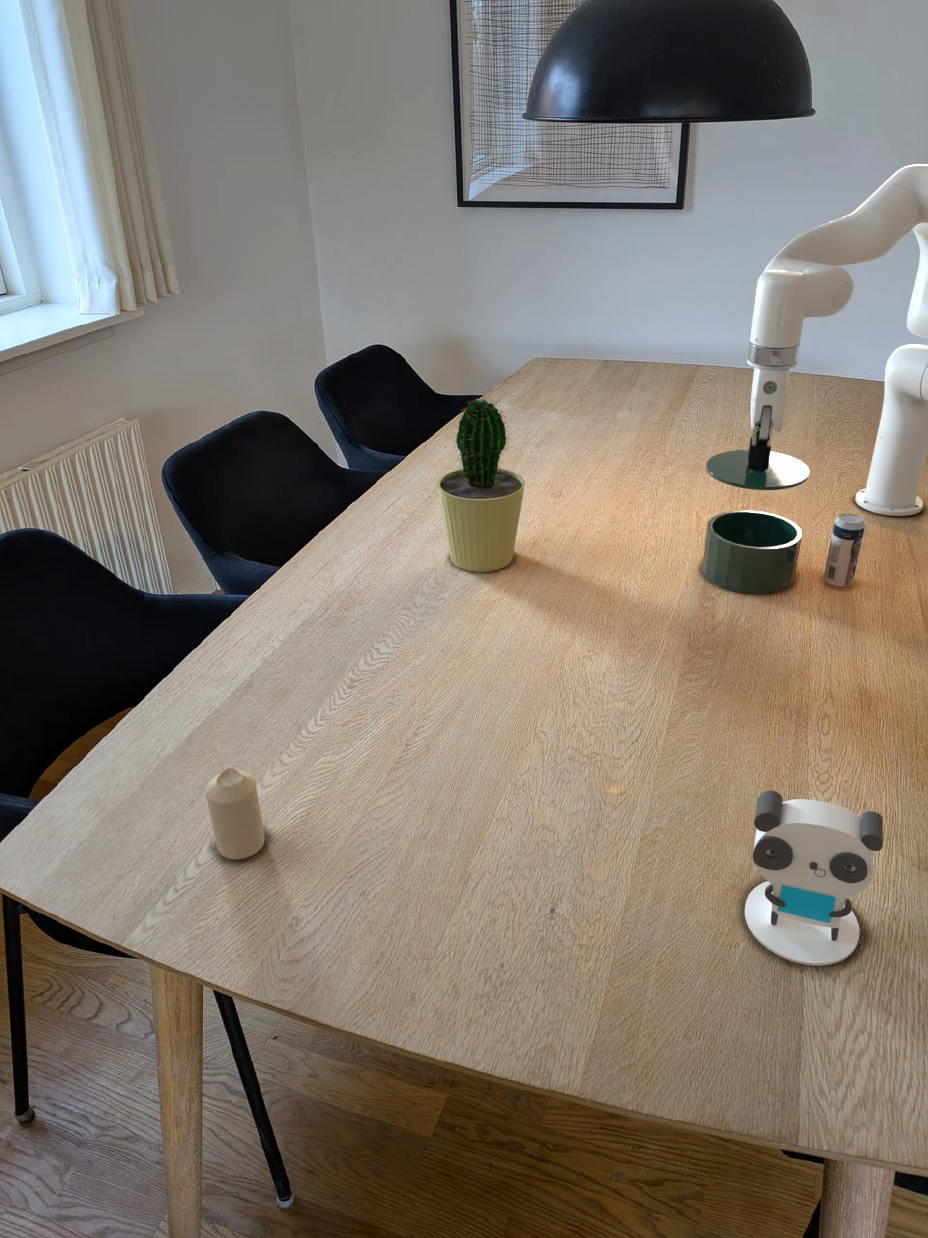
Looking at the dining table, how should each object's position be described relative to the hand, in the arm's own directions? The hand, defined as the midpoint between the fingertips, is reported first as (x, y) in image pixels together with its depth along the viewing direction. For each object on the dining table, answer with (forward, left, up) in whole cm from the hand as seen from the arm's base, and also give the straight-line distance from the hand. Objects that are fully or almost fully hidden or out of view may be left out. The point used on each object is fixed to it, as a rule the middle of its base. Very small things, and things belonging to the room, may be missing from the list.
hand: (757, 463), depth 156 cm
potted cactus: (+6, -46, -20) cm, 51 cm away
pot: (+1, +1, -20) cm, 20 cm away
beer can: (+1, +16, -20) cm, 26 cm away
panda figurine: (+80, +7, -20) cm, 83 cm away
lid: (0, 0, -1) cm, 1 cm away
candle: (+84, -55, -20) cm, 103 cm away
